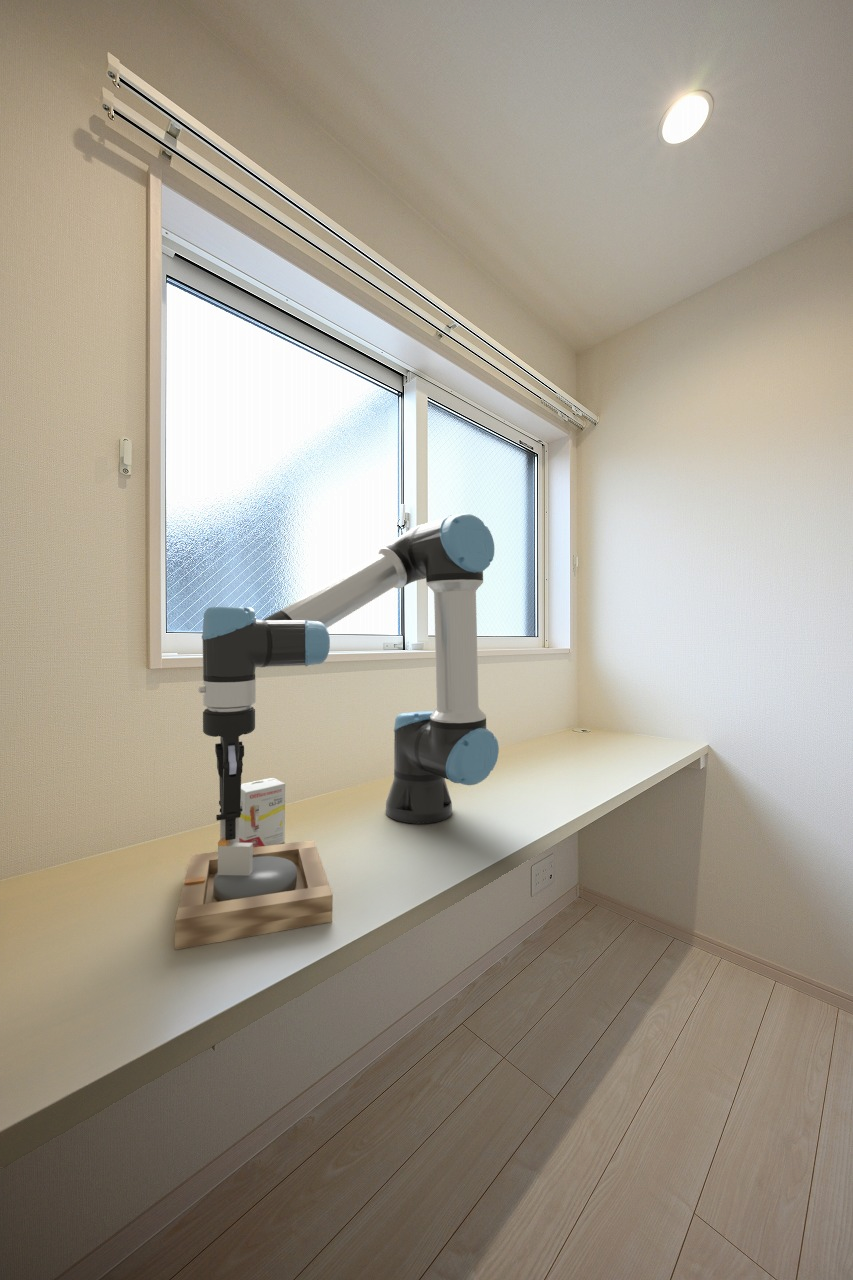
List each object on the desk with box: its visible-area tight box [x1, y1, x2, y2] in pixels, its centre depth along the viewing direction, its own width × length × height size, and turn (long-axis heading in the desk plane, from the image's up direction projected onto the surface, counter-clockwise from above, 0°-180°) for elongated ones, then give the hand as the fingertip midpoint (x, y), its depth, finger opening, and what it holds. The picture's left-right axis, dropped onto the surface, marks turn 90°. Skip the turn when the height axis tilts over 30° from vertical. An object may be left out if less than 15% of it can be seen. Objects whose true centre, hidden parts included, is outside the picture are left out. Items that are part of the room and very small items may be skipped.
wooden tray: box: [174, 839, 334, 951], centre depth 77 cm, size 20×20×4 cm
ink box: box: [239, 777, 286, 847], centre depth 96 cm, size 9×5×12 cm, turn 137°
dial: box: [213, 838, 297, 902], centre depth 77 cm, size 12×12×7 cm
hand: (229, 856), depth 79 cm, fingers closed
